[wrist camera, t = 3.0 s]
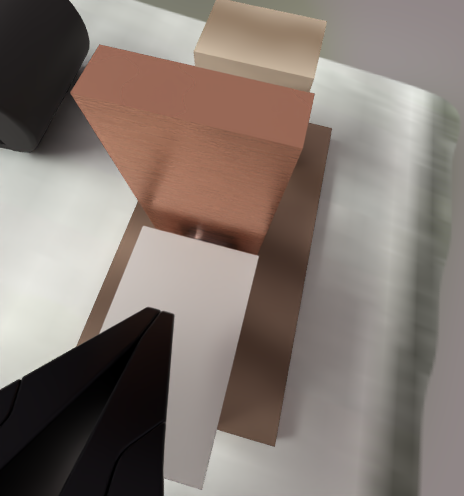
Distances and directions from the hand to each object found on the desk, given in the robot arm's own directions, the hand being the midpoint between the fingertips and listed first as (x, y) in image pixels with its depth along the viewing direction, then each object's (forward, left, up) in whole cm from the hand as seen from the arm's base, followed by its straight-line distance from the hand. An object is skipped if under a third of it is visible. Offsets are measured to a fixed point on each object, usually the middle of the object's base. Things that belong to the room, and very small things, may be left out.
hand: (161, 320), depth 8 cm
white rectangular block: (-1, 0, -9) cm, 9 cm away
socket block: (+14, 0, -9) cm, 17 cm away
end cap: (+13, +17, -9) cm, 24 cm away
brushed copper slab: (+3, 0, -6) cm, 7 cm away
